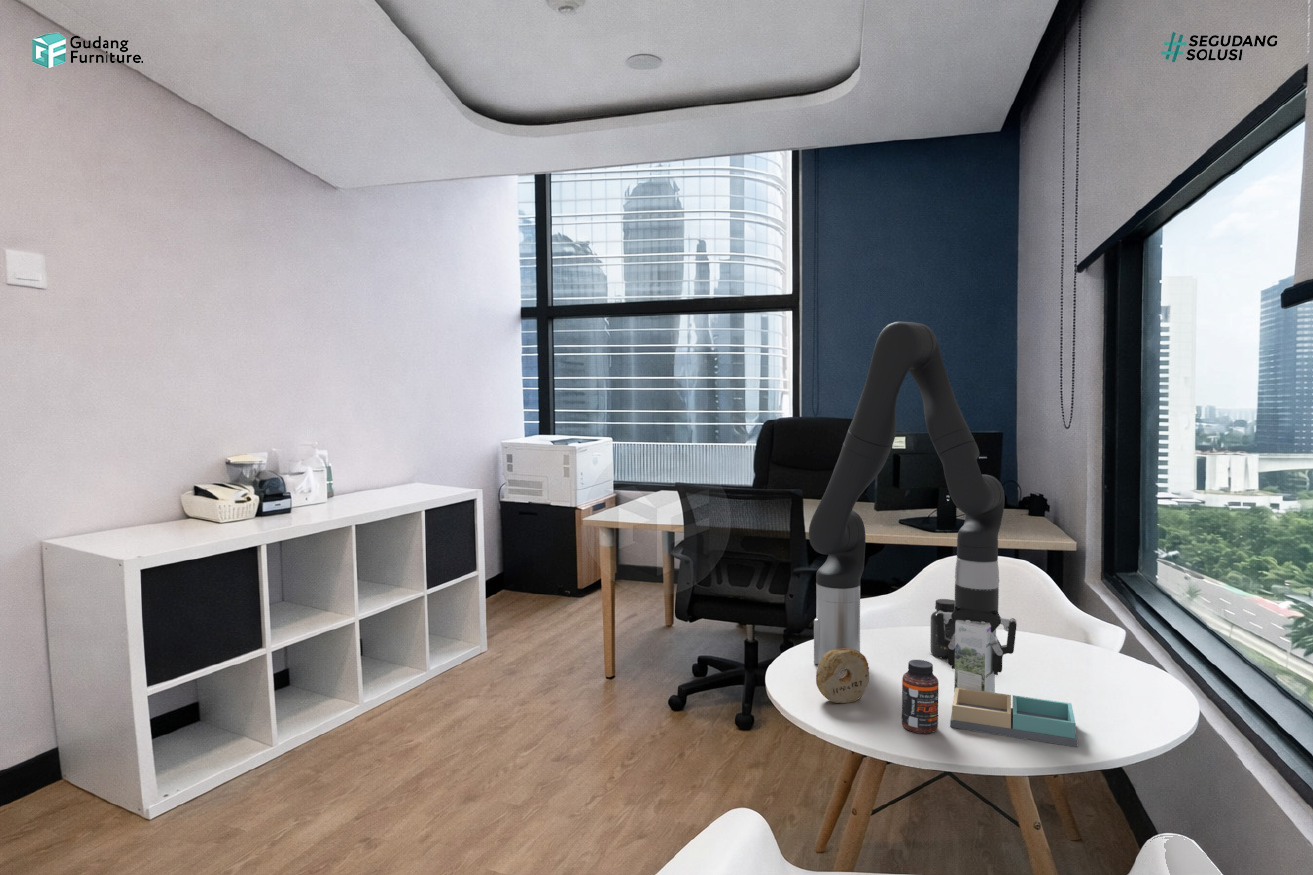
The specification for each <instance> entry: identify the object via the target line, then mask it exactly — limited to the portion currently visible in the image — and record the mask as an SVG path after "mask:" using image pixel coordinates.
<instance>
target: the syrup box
mask: <svg viewBox="0 0 1313 875" xmlns="http://www.w3.org/2000/svg"><path fill="white" fill-rule="evenodd" d="M990 630H991V625H990V623H988V622H987V623H986V624H981V623H980V622H977V621H972V622H971V623H967V622H965V621H964V620H956V622H955V669H954V684H953V685H954V688H953V689H954V691H953V692H954V693H955V688H964V689H971V690H978V691H985V692H993V693H996V682H995V681H996V680H995V679H996V675H994V652H995V651H994V649H993V647H992V646H991V644H990V643H989V641H990V638H991V637H990ZM992 634H993V635H994V636H995V635H996V636H997V628H996V629H995V630H994V632H993V633H992ZM954 693H953V694H954Z"/></svg>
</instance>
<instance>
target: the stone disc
mask: <svg viewBox="0 0 1313 875" xmlns="http://www.w3.org/2000/svg"><path fill="white" fill-rule="evenodd" d="M816 667H817V668H816V675H815V684H816V687H817V689H818V691H819V692H820V693H821V694H822V696H823V697H824V698H825V699H827V700H828V701H830V702H831V703H835V704H837V703H838V704H848V703H854V702H856V701H858V700H859V699H860V698H861V697H862V696H863V695H864V693H865V692H866V690H867V688H868V686H869V682H870V672H869V670H870V667H869V662H868V659H867V658H866V656H865V655H864V654H863V653H862V652H861V651H860V652H859V651H856V650H854V649H849V648H841V649H833V650H830V651H828V652H826V653H825V654H824V655H823V657H822V659H821V660H820V663H819V664H817V666H816ZM844 670H845V673H844V674H843V676H842V677H840V674H841V672H842V671H844Z"/></svg>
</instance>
